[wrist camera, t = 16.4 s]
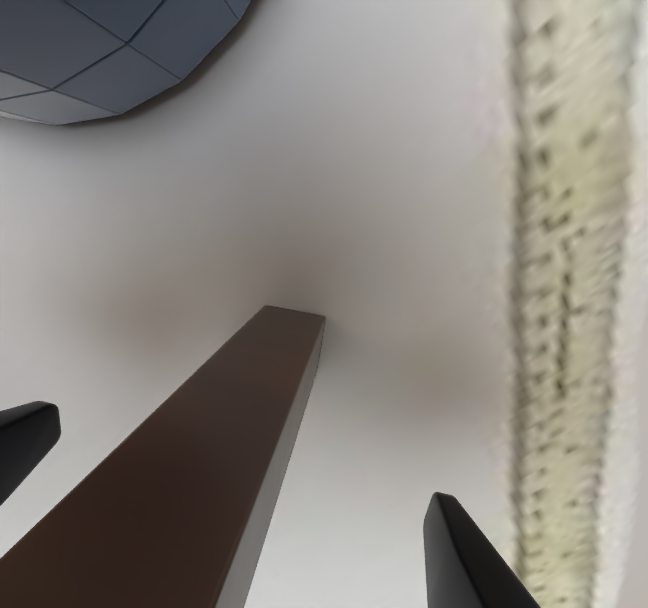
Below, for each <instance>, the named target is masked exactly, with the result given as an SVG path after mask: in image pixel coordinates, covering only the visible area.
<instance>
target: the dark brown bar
mask: <svg viewBox="0 0 648 608" xmlns="http://www.w3.org/2000/svg"><path fill="white" fill-rule="evenodd" d="M325 319H326V318H325V316H320V315H315V314H310V313H304V312H299V311H294V310H288V309H283V308H277V307H272V306H267V305H265V306H264V307H263V308H262V309H261V310H260V311H259V312H258V313H256V314H255V315H254V316H253V317H252V318H251V319H250V320H249V321H248V322H247V323H246V324H245V325H244V326H243V327H242V328H241V329H240V330H239V331H238V332H237V333H236V334H235V335H233V336H232V337H231V338H230V339H229V340H228V341H227V342H226V343H225V344H224V345H223V346H222V347H221V348H220V349H219V350H218V351H217V352H216V353H215V354H214V355H213V356H212V357H211V358H209V359H208V360H207V361H206V362H205V363H204V364H203V365H202V366H201V367H200V368H199V369H198V370H197V371H196V372H195V373H194V374H193V375H192V376H191V377H190V378H189V379H188V380H186V381H185V382H184V383H183V384H182V385H181V386H180V387H179V388H178V389H177V390H176V391H175V392H174V393H173V394H172V395H171V396H170V397H169V398H168V399H167V400H166V401H165V402H164V403H162V404H161V405H160V406H159V407H158V408H157V409H156V410H155V411H154V412H153V413H152V414H151V415H150V416H149V417H148V418H147V419H146V420H145V421H144V422H143V423H142V424H141V425H140V426H138V427H137V428H136V429H135V430H134V431H133V432H132V433H131V434H130V435H129V436H128V437H127V438H126V439H125V440H124V441H123V442H122V443H121V444H120V445H119V446H118V447H117V448H115V449H114V450H113V451H112V452H111V453H110V454H109V455H108V456H107V457H106V458H105V459H104V460H103V461H102V462H101V463H100V464H99V465H98V466H97V467H96V468H95V469H94V470H93V471H91V472H90V473H89V474H88V475H87V476H86V477H85V478H84V479H83V480H82V481H81V482H80V483H79V484H78V485H77V486H76V487H75V488H74V489H73V490H72V491H71V492H70V493H69V494H67V495H66V496H65V497H64V498H63V499H62V500H61V501H60V502H59V503H58V504H57V505H56V506H55V507H54V508H53V509H52V510H51V511H50V512H49V513H48V514H47V515H46V516H44V517H43V518H42V519H41V520H40V521H39V522H38V523H37V524H36V525H35V526H34V527H33V528H32V529H31V530H30V531H29V532H28V533H27V534H26V535H25V536H24V537H23V538H22V539H20V540H19V541H18V542H17V543H16V544H15V545H14V546H13V547H12V548H11V549H10V550H9V551H8V552H7V553H6V554H5V555H4V556H3V557H2V558H1V559H0V608H244V605H245V602H246V599H247V596H248V592H249V589H250V586H251V583H252V580H253V576H254V573H255V570H256V567H257V563H258V560H259V557H260V554H261V550H262V547H263V544H264V541H265V538H266V534H267V531H268V528H269V525H270V521H271V518H272V515H273V512H274V508H275V505H276V502H277V499H278V496H279V492H280V489H281V486H282V483H283V479H284V476H285V473H286V470H287V466H288V463H289V460H290V457H291V453H292V450H293V447H294V444H295V441H296V437H297V434H298V431H299V428H300V424H301V421H302V418H303V415H304V411H305V408H306V405H307V402H308V399H309V395H310V392H311V389H312V386H313V382H314V379H315V376H316V373H317V368H318V362H319V356H320V349H321V343H322V337H323V331H324V325H325Z"/></svg>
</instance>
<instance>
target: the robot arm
mask: <svg viewBox="0 0 648 608" xmlns="http://www.w3.org/2000/svg"><path fill="white" fill-rule="evenodd" d="M60 435H61V426H60V417H59V409H58V407H57V406H56V405H55V404H52V403H47V402H43V401H36V402H32V403H28V404H24V405H21V406H17V407H14V408H10V409H7V410H3V411H0V506H1V505H2V504H3V503H4V502H5V500H6V499H7V498H8V497H9V496H10V495H11V494H12V493H13V492H14V490H15V489H16V488H17V487H18V486H19V485H20V484H21V483H22V481H23V480H24V479H25V478H26V477H27V476H28V475H29V474H30V472H31V471H32V470H33V469H34V468H35V467H36V466H37V464H38V463H39V462H40V461H41V460H42V459H43V458H44V457H45V455H46V454H47V453H48V452H49V451H50V450H51V449H52V447H53V446H54V445H55V444H56V443H57V441H58V440H59V438H60ZM423 533H424V550H425V567H426V584H427V601H428V608H541V607H540V606H539V605H538V604H537V602H536V601H535V600H534V598H533V597H532V596H531V595H530V593H529V592H528V591H527V589H526V588H525V587H524V585H523V584H522V583H521V582H520V580H519V579H518V578H517V576H516V575H515V574H514V573H513V571H512V570H511V569H510V567H509V566H508V565H507V564H506V562H505V561H504V560H503V558H502V557H501V556H500V555H499V553H498V552H497V551H496V549H495V548H494V547H493V546H492V544H491V543H490V542H489V540H488V539H487V538H486V536H485V535H484V534H483V533H482V531H481V530H480V529H479V527H478V526H477V525H476V524H475V522H474V521H473V520H472V518H471V517H470V516H469V515H468V513H467V512H466V511H465V509H464V508H463V507H462V506H461V504H460V503H459V502H458V500H457V499H456V498H455V497H454V496H452V495H448V494H444V493H440V492H435V493H434V494H433V495H432V498H431V501H430V504H429V507H428V510H427V513H426V516H425V519H424V525H423Z"/></svg>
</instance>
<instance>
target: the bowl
mask: <svg viewBox="0 0 648 608" xmlns="http://www.w3.org/2000/svg"><path fill="white" fill-rule="evenodd" d="M250 1H251V0H0V116H1V117H7V118H13V119H20V120H26V121H32V122H38V123H45V124H51V125H54V124H56V125H61V124H67V123H73V122H79V121H85V120H91V119H97V118H103V117H109V116H115V115H119V114H123V113H125V112H126V111H128V110H130V109H132V108H134V107H135V106H137V105H139V104H141V103H143V102H145V101H146V100H148V99H150V98H152V97H154V96H155V95H157V94H159V93H161V92H163V91H165V90H166V89H168V88H170V87H172V86H174V85H176V84H177V83H179V82H181V80H184V79H185V78H186V77H187V75H188V74H189V73H190V72H191V71H192V70H193V69H194V68H195V67H196V66H197V65H198V64H199V63H200V62H201V61H202V60H203V59H204V58H205V57H206V56H207V55H208V54H209V52H210V51H211V50H212V49H213V48H214V47H215V46H216V45H217V44H218V43H219V42H220V41H221V40H222V39H223V38H224V37H225V36H226V35H227V34H228V33H229V32H230V31H231V30H232V28H233V27H234V26H235V25H236V24H237V23H238V20H240V19H241V18H242V16H243V14H244V12H245V10H246V9H247V7H248V5H249V3H250Z"/></svg>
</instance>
